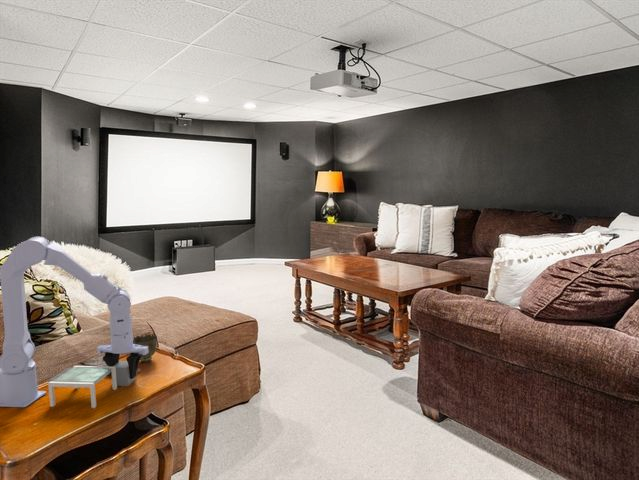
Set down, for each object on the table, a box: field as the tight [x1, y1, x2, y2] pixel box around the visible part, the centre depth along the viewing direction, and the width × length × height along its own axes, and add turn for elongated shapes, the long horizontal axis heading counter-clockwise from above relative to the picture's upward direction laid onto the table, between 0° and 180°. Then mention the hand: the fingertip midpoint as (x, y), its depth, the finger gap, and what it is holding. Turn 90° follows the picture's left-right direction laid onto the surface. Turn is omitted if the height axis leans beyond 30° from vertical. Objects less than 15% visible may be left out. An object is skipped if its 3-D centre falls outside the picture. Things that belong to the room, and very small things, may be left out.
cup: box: [133, 333, 158, 363], centre depth 138 cm, size 8×7×8 cm
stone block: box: [113, 360, 137, 387], centre depth 123 cm, size 5×5×6 cm
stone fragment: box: [79, 355, 142, 373], centre depth 134 cm, size 25×3×10 cm
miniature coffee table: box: [47, 365, 118, 409], centre depth 114 cm, size 12×11×6 cm
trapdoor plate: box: [47, 366, 111, 385], centre depth 114 cm, size 12×8×2 cm
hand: (124, 377), depth 123 cm, fingers closed on stone block, 5 cm apart
